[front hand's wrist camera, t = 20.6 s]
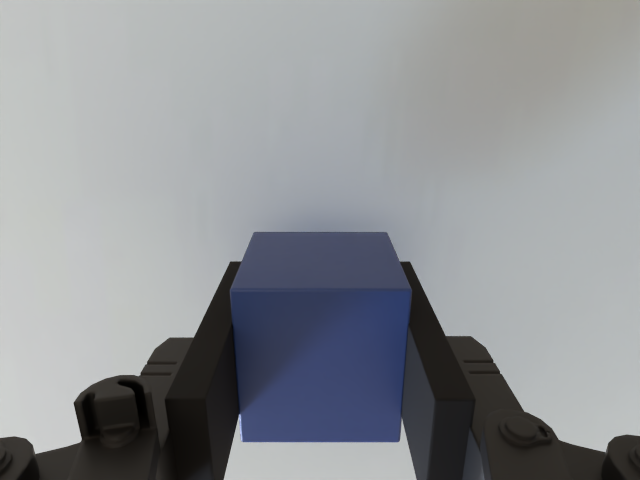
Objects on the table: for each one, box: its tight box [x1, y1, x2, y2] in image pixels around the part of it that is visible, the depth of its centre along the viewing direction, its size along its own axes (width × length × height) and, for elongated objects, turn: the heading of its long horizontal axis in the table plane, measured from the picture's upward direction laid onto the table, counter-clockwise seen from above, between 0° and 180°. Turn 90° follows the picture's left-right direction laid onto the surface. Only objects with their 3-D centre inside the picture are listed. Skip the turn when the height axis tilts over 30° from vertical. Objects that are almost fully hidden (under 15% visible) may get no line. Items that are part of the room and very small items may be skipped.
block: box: [230, 232, 412, 442], centre depth 13 cm, size 5×4×4 cm
